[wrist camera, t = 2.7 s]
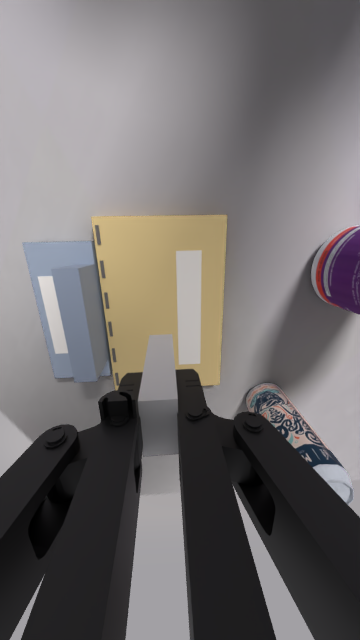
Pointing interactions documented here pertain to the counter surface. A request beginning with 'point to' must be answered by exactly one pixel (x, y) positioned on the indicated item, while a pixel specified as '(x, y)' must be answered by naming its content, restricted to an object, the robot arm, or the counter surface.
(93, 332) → the stub
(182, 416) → the robot arm
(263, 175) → the counter surface
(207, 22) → the counter surface
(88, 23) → the counter surface
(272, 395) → the beer can
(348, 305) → the pill bottle
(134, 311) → the tan notebook
